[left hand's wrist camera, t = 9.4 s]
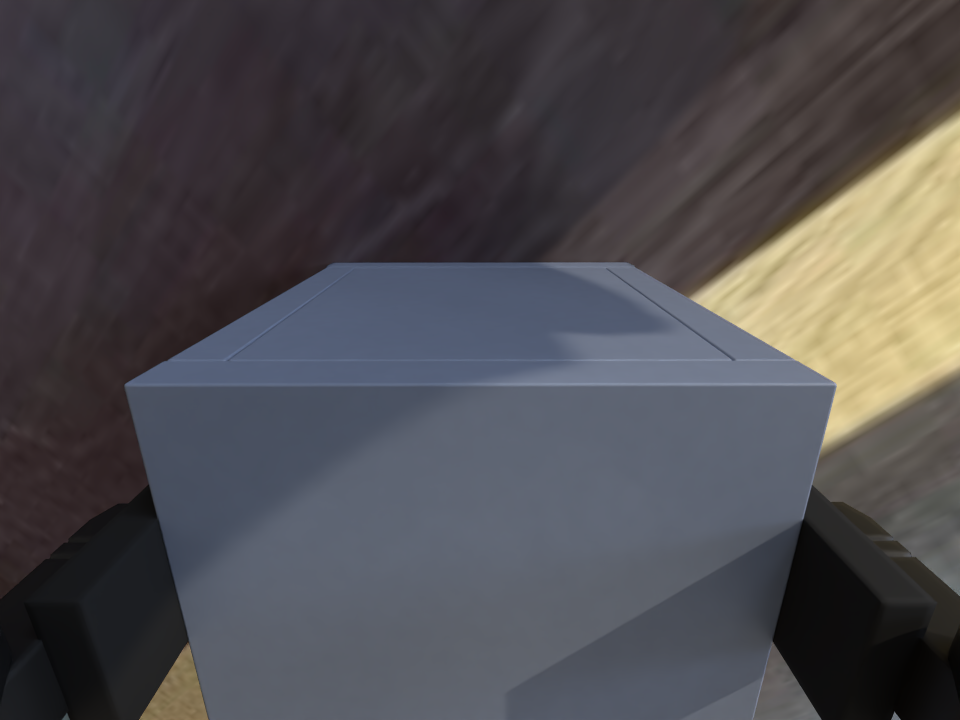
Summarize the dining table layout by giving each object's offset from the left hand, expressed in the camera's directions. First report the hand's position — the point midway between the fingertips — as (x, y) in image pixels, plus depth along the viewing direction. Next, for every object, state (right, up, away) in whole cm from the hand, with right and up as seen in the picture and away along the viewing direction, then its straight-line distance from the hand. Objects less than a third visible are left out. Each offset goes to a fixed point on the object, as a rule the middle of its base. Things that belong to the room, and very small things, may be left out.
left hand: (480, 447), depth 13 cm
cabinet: (0, -1, +8) cm, 8 cm away
